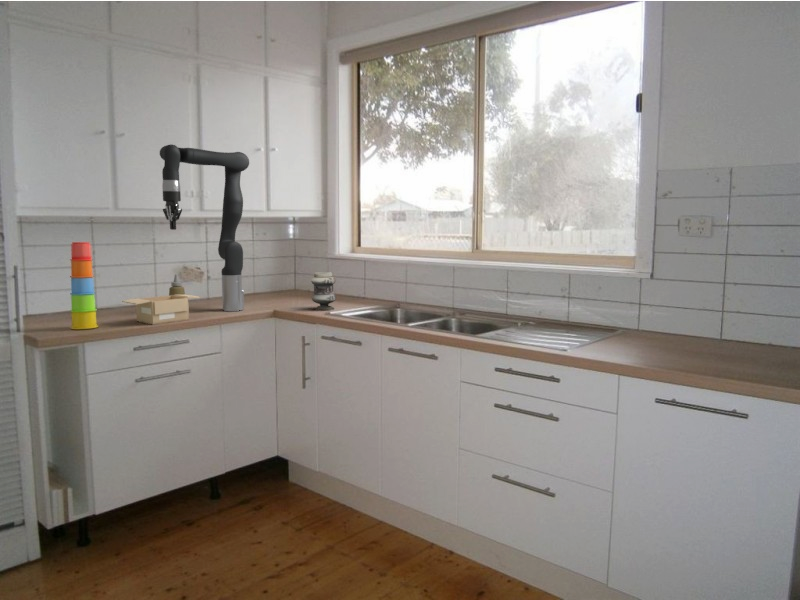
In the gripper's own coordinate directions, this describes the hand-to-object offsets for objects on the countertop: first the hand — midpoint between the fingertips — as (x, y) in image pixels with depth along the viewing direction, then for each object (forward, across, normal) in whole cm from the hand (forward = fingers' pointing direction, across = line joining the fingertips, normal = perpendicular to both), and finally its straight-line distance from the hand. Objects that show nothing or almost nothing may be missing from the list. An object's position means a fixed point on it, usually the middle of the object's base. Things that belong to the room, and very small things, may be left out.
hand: (173, 229), depth 288 cm
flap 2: (+29, -10, +4) cm, 31 cm away
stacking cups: (+39, -4, +43) cm, 58 cm away
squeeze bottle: (+39, +6, -4) cm, 40 cm away
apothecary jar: (+39, -36, -58) cm, 79 cm away
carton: (+39, -10, +12) cm, 42 cm away
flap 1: (+29, -10, +20) cm, 37 cm away
